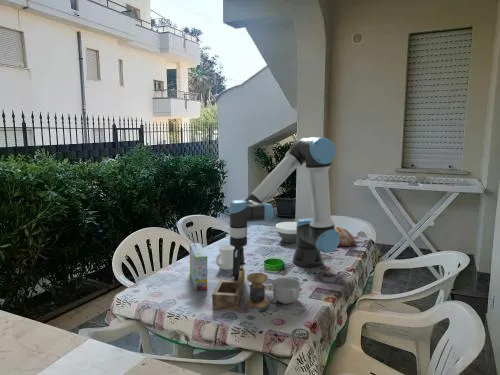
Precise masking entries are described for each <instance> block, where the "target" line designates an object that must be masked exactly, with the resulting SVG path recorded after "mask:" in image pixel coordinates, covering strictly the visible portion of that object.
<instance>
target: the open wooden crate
mask: <svg viewBox="0 0 500 375" xmlns="http://www.w3.org/2000/svg"><path fill="white" fill-rule="evenodd" d="M216 284H217V285H216V287H215V288H214V290H213V292H212V294H211V301H212V302H211V303H212V307H211V309H212V310H219V311H233V312H234V311H237V312H239V310H240V308H241V307H240V306H241V304H242V301H243V298H244V293H245V292H244V291H245V290H244V288H245V285H244V282H243V281H233V279H232V280H230V279H229V280H228V279H219V281H218V282H217V283H216Z"/></svg>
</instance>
